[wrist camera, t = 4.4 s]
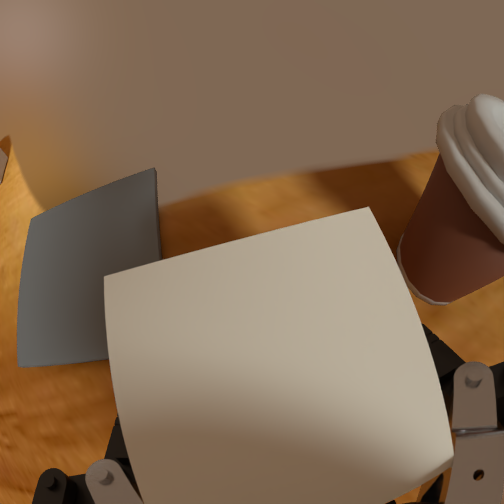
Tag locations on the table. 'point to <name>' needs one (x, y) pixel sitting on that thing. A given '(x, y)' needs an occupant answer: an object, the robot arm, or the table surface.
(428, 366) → the block
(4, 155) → the milk carton
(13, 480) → the table surface
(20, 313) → the mat
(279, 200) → the table surface
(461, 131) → the coffee cup
